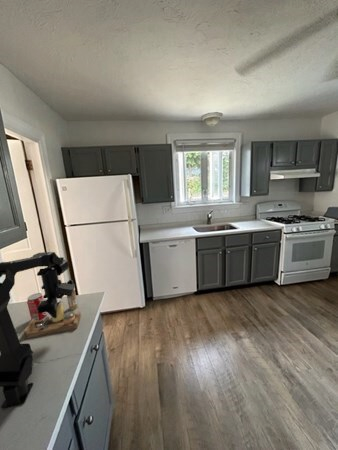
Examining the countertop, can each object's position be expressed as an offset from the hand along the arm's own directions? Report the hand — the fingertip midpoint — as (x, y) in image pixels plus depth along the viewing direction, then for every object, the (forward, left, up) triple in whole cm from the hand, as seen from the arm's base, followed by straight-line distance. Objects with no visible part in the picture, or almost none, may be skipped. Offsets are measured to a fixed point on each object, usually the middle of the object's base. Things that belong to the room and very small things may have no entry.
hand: (57, 314), depth 86 cm
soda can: (+19, +16, -12) cm, 28 cm away
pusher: (+8, +11, -11) cm, 17 cm away
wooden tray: (+8, +5, -12) cm, 15 cm away
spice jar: (+8, -2, -11) cm, 14 cm away
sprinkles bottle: (+22, 0, -12) cm, 25 cm away
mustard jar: (0, 0, -2) cm, 2 cm away
